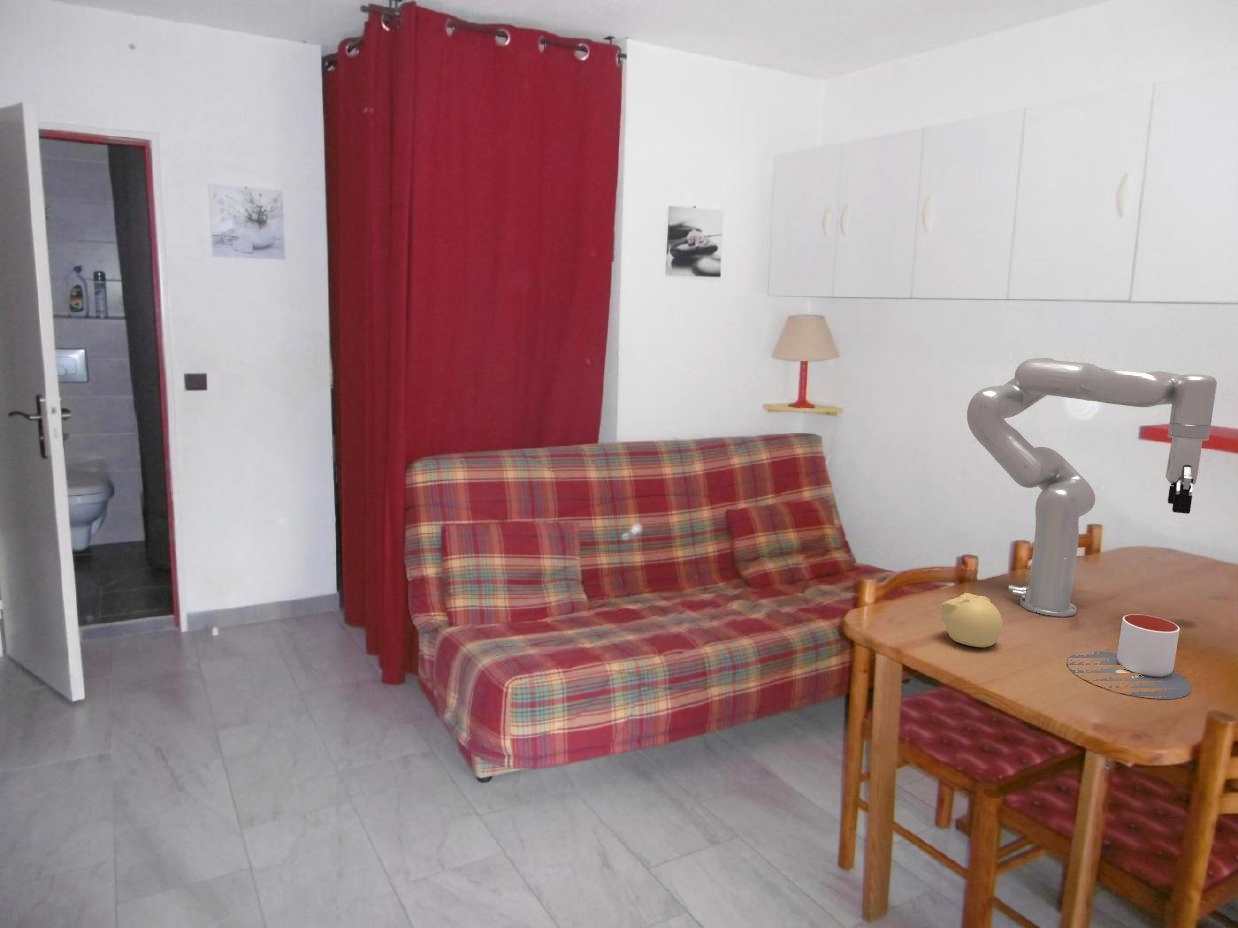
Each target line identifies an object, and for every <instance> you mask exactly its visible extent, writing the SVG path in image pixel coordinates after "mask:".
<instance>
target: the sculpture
mask: <svg viewBox="0 0 1238 928" xmlns="http://www.w3.org/2000/svg"><path fill="white" fill-rule="evenodd" d="M940 613H941V614H940V615H941V617H940V618H941V619H940V620H942V622H943V625H944V626H945V629H946V632H947V635H949V637H950V638H951V640H953V642H956V643H959V644H962V645H965V646H969V647H974V648H975V647H976V648H987V647H992V646H993V645H994V644H996V642H997V641H998V640H999V639H1000V636H1001V634H1002V633H1003V625H1004V624H1003V623H1004V622H1003V618H1002V614H1001V613H1000V610H999V609H998V608H997V606H995V604H993V603H992V602H991V599H990V598H988V597H987V596H983V595H976V594H972V593H969V592H965V593H962V594H960V595H959V596H957V597H955V598H952V599H948V600H944V601H943V603H942V604H941V612H940Z"/></svg>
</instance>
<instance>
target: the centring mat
mask: <svg viewBox="0 0 1238 928" xmlns="http://www.w3.org/2000/svg"><path fill="white" fill-rule="evenodd" d="M1093 652H1094V654H1093V655H1091V654H1092V653H1091V654H1090V655H1089V654H1087V655H1086V656H1084V655H1080V654H1079V655H1078V656H1076V655H1074V654H1071V655H1070V656H1069V657H1068V658H1109V661H1107V659H1106V660H1105V661H1101V662H1100V664H1099V663H1095V664H1094V663H1093V665H1097V664H1099V665H1120V663H1119V662H1118V660H1117V653H1118V652H1117V653H1116V652H1107V651H1093ZM1098 652H1099V654H1097V653H1098ZM1113 658H1115V659H1113ZM1103 660H1104V659H1103ZM1071 661H1072V660H1071ZM1078 661H1079V660H1078ZM1093 662H1094V661H1093ZM1068 663H1069V662H1068ZM1068 663H1067V662H1066V666H1067V665H1084V664H1082V663H1084V662H1080V663H1078V664H1074V663H1076V662H1072V663H1071V662H1070V664H1068ZM1090 663H1092V662H1090ZM1090 663H1086V664H1085V665H1091V664H1090ZM1078 669H1079V668H1078ZM1100 670H1101V671H1097V670H1093V671H1090V672H1087V671H1089V670H1086V673H1092V672H1093V673H1135V672H1132V671H1130V670H1126V669H1124V670H1121V669H1118V668H1116V670H1115V668H1114V669H1113V668H1109V669H1104V670H1103V668H1102V669H1100ZM1071 671H1072V672H1071ZM1071 671H1070V672H1071V673H1072V674H1074V673H1085V672H1084V671H1082V670H1078V672H1075V671H1076V670H1072V669H1071ZM1094 671H1095V672H1094ZM1142 676H1144V677H1142ZM1142 676H1141V675H1139V678H1138V676H1135V677H1136V678H1134V677H1133V676H1132V679H1129V678H1128V679H1129V680H1128V679H1127V678H1124V679H1125V680H1124V681H1163V682H1154V685H1153V683H1149V684H1151V685H1148V683H1147V684H1144V685H1147V686H1143V685H1142V682H1140V683H1141V684H1140V683H1139V686H1136V684H1134V685H1135V686H1132V687H1131V688H1163V689H1162V691H1154V692H1150V691H1147V692H1144V691H1143V692H1141V691H1139V692H1132V693H1131V694H1127V693H1126V694H1127V695H1126V696H1129V695H1132V696H1131V697H1134V696H1162V697H1161V698H1158V697H1157V698H1155V697H1154V698H1155V699H1154V700H1159V699H1168V700H1176V699H1175V698H1178V699H1181V697H1182V698H1184V697H1183V696H1185V697H1186V696H1188V695H1189V694H1191V692H1192V685H1191V683H1190V682H1189V681H1188V680H1187V678H1185V677H1184V676H1182V675H1181V674H1180V673H1178V672H1176V671H1175V670H1173V671H1172V672H1171V673H1170V674H1169V675H1166V676H1162V677H1154V676H1146V675H1142ZM1103 678H1104V677H1103ZM1117 678H1120V677H1116V679H1114V678H1112V677H1109V680H1108V679H1107V678H1104V679H1100V681H1122V679H1117ZM1087 681H1089V680H1086V681H1085V682H1087ZM1093 681H1099V679H1096V680H1093ZM1167 681H1168V682H1167ZM1101 687H1102V686H1101ZM1101 687H1100V688H1101ZM1119 687H1120V686H1116V688H1119ZM1126 687H1128V686H1126ZM1103 688H1105V687H1103ZM1103 688H1102V689H1103ZM1109 688H1112V686H1109ZM1124 688H1125V687H1124ZM1165 688H1167V690H1164V689H1165ZM1169 688H1172V689H1169ZM1175 688H1177V689H1175ZM1158 690H1159V689H1158ZM1124 694H1125V693H1124ZM1124 694H1123V695H1124ZM1164 696H1166V697H1164ZM1147 698H1148V697H1147ZM1147 698H1146V699H1147Z"/></svg>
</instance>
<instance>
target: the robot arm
mask: <svg viewBox="0 0 1238 928" xmlns="http://www.w3.org/2000/svg"><path fill="white" fill-rule="evenodd" d="M1216 391H1217V379H1216V378H1215V377H1213V376H1211V375H1207V374H1190V373H1189V374H1188V373H1187V374H1179V373H1172V372H1168V371H1158V370H1157V371H1147V372H1137V371H1136V372H1135V371H1127V370H1115V369H1109V368H1108V369H1107V368H1103V367H1099V366H1097V365H1095V364H1094V363H1089V362H1078V361H1068V360H1067V361H1066V360H1056V359H1053V358H1049V357H1038V358H1036V357H1034V358H1030V359H1026V360H1024V361H1023V362H1021V363H1020V364H1019V365H1018V366H1017V367H1016V368H1015V371H1014V378H1011V379H1010V380H1009V381H1007V382H1006V383H1005V384H1003V385H996V386H995V385H994V386H989V387H985V388H984V387H983V388H982V389H980V390H979V391H977V392H976V393H975V394H974V395H973V396H972V397H971V399H970V400H969V403H968V406H967V409H966V410H967V411H966V420H967V425H968V428H969V431H970V432H971V433H972V435H973V437H975V439H976V440H977V441H978V443H980V445H982V446H983V448H985V450H986V451H987V452H988V454H990V455H991V456H992V457H993V459H994V460H995V461H996V462H997V463H998V464H999V466H1001V468H1003V470H1004V471H1005V472H1006V473H1007V474H1008V475H1009V476H1010V477H1011V479H1012V480H1014V482H1015V483H1016V484H1017V485H1019V486H1020V487H1023V488H1026V489H1033V488H1037V487H1038V488H1040V490H1041V492H1040V493H1039V495H1038V497H1037V498H1036V502H1035V507H1034V508H1035V533H1034V539H1033V540H1034V541H1033V548H1032V549H1033V550H1032V556H1031V564H1030V571H1029V572H1030V573H1029V580H1028V581H1029V582H1028V583H1027V586H1026V585H1023V586H1018V585H1013V584H1009V585H1008V590H1007V591H1008V593H1011V594H1012V596H1020V598H1019V604H1020V606H1021V607H1022V608H1024V609H1025V610H1028V611H1030V612H1033V613H1036V612H1037V614H1039V613H1040V615H1043V614H1044V616H1049V615H1050V617H1059V616H1060V617H1063V618H1064V617H1070V616H1074V615H1076V613H1077V606H1076V605H1075V604H1074V603H1072V602H1071V600H1072V592H1073V584H1074V580H1075V579H1074V578H1075V571H1076V564H1077V563H1076V562H1077V557H1078V555H1077V554H1078V547H1079V535H1080V534H1079V533H1080V532H1079V530H1080V529H1079V528H1080V527H1079V526H1080V525H1079V522H1080V521H1079V519H1080V517H1082V516H1085V515H1086V514H1087V513H1089V512H1090V511H1091V510H1092V509H1093V508H1094V505H1095V503H1096V494H1095V491H1094V489H1093V488H1092V486H1091V484H1090V483H1089V482H1088V481H1087V480H1086V479H1085V478H1084V477H1083V476H1082V475H1081V474H1080V473H1079V472H1078V471H1077V470H1076V468H1075V467H1073V466H1072V465H1071V464H1070V463H1069V462H1068V461H1067V460H1066V458H1064V456H1062V454H1060V453H1059V452H1058V451H1056V450H1054V449H1052V448H1050V447H1047V446H1037V447H1035V446H1033V445H1032V444H1031V443H1030V442H1029V441H1028V440H1027V439H1026V438H1024V436H1023V435H1022V434H1021V432H1019V431H1018V430H1017V429H1015V427H1013V426H1012V425H1010V424H1009V423H1008V422H1007V421H1006V420H1005V419H1007V418H1012V417H1015V416H1017V415H1019V414H1021V413H1023V412H1024V411H1026V410H1027V409H1028V408H1031V407H1032V406H1034V405H1035V404H1036V403H1038V402H1039V401H1041V400H1042V399H1044V398H1045V397H1047V396H1051V397H1061V398H1068V399H1075V400H1083V401H1089V402H1090V401H1091V402H1096V403H1097V402H1098V403H1104V404H1108V405H1109V404H1111V405H1118V406H1125V407H1126V406H1127V407H1135V408H1151V407H1152V408H1153V407H1155V406H1160V405H1161V406H1162V405H1171V407H1170V408H1171V409H1170V416H1169V422H1168V423H1169V424H1168V429H1167V431H1168V432H1167V438H1171V443H1170V449H1169V454H1168V461H1167V466H1166V471H1165V478H1166V480H1167V482H1168V483H1170V485H1169V488H1168V496H1167V503H1168V504H1169V505H1170V504H1171V505H1172V507H1171V508H1172V509H1171V511H1172V512H1173V513H1177V514H1178V513H1179V514H1190V513H1191V508H1192V507H1191V506H1192V499H1193V486H1194V485H1196V483H1197V479H1198V474H1199V469H1200V461H1201V455H1202V454H1201V453H1202V447H1203V442H1206V441H1209V440H1210V435H1211V427H1212V426H1211V425H1212V419H1213V412H1214V405H1215V399H1216Z"/></svg>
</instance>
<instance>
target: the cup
mask: <svg viewBox="0 0 1238 928" xmlns="http://www.w3.org/2000/svg"><path fill="white" fill-rule="evenodd" d="M1180 630H1181V629H1180V627H1179V625H1178V624H1176V623H1174V622H1172V621H1169V620H1167V619H1165V618H1162V617H1157V616H1153V615H1148V614H1147V615H1146V614H1138V613H1137V614H1132V613H1131V614H1127V615H1124V616H1123V617H1122V619H1121V627H1120V634H1119V641H1118V647H1117V660H1118V662H1119V663H1120V665H1121V666H1123V667H1124V668H1126V669H1128V670H1130V671H1132V672H1135V673H1138V674H1141V675H1146V676H1154V677H1161V676H1166V675H1169V674H1170V673H1171V672H1172V671H1174V667H1175V661H1176V655H1177V649H1178V648H1177V647H1178V643H1179V642H1178V641H1179V637H1180V636H1179V635H1180Z"/></svg>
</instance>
